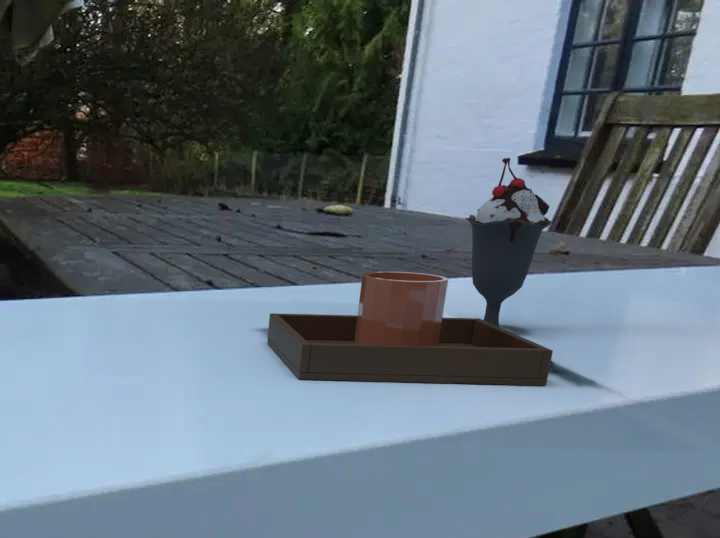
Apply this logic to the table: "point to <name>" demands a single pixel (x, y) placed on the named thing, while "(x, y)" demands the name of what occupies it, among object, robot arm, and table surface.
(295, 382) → the table surface
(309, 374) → the tray
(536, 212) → the sundae
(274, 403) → the table surface
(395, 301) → the terracotta flower pot
